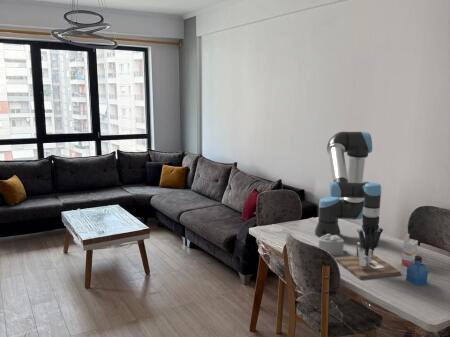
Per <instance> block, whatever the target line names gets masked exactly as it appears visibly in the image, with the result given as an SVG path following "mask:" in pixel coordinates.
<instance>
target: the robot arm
mask: <svg viewBox="0 0 450 337" xmlns="http://www.w3.org/2000/svg"><path fill="white" fill-rule="evenodd" d="M328 140H329V141H328V143H327V145H326V146H327V148H326V149H327V150H326V151H327V154H328V155H329V159H330V160H329V161H330V168H331V176H332V181H331V182H330V184H329V196H324V197H322V198H319V203H318V204H319V205H318V222H317V225H316V227H315V229H314V235H315V236H317V237H319V238H320V237H322V236H324V235H326V234H331V235H338V236H339V237H340V238H341V229H340V226H339V220H353V221H354V220H356V221H357V220H362V226H361V228H360V229H357V230H356V231H357V233H358V237H359V241H360V243H361V247H362V248H363V249H365V256H366V262H368V263H371V256H372V255H374V251H375V250H376V249H377V248H378V246H379V241H380V238H381V236H382V232H383V231H384V229H383V228H382V227H380V226H379V224H380V210H381V197H382V186H381V184H380V183H377V182H369V181H364V171H365V163H366V158H368V157H369V154H371V153H372V152H373V139H372V136H371V133H370V132H367V131H339V132H337V133H335V134H334V135H332V136H331V137H330V139H328ZM345 153H346V156H348V157H349V159H348V171H347V165H346V164H347V163H346V160H345V158H346V157H345ZM340 198H342V199H340Z"/></svg>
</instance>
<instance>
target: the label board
mask: <svg viewBox="0 0 450 337" xmlns="http://www.w3.org/2000/svg"><path fill="white" fill-rule="evenodd" d="M335 259H336V261H337V262H336V261H335V262H336V263H337V264H339V265H340V266H341V267H343V268H344V269H345V270H347V271H348V272H349V273H350V274H352V275H353V276H354V277H355V278H357V279H358V280H365V279H375V278H382V277H383V278H384V277H391V276H399V275H401V272H402V271H400V270H399V269H398V268H395V267H394V266H393V265H391V264H390V263H388V262H387V261H385V260H383V259H381V257H378V256H377V255H375V254H373V255H372V256H371V263H368V262H366V266H359V258H358V256H357V254H355V255H348V256H347V255H346V256H338V257H334V260H335Z"/></svg>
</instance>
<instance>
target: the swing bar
mask: <svg viewBox="0 0 450 337" xmlns="http://www.w3.org/2000/svg"><path fill="white" fill-rule="evenodd" d="M356 255H357V256H358V258H359V266H366V256H365V249H363V248H362V247H361V243H360V240H359V241H358V240H357V242H356Z"/></svg>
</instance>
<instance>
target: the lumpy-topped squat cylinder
mask: <svg viewBox="0 0 450 337" xmlns="http://www.w3.org/2000/svg"><path fill="white" fill-rule="evenodd" d="M317 242H318V244H317V247H319V248H322V249H324V250H326V251H327V252H329V253H330V254H331V256H332V255H333V256H334V255H336V256H337V255H342V254H344V245H345V244H344V242H345V240H344V239H343V238H341V236H340V237H339V236H338V235H331V234H326V235H324V236H322V237H319V238H318V241H317Z"/></svg>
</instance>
